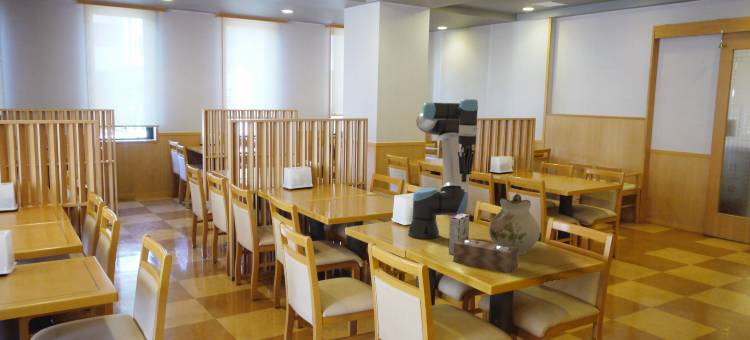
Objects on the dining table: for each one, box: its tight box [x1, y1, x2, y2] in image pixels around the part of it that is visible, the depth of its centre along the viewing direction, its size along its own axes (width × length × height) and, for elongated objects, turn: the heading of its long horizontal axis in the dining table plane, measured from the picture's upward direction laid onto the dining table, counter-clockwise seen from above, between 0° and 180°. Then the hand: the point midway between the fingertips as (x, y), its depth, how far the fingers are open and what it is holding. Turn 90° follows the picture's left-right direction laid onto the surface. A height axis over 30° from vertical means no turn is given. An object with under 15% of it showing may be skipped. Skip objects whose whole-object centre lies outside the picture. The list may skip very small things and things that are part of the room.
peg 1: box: [464, 238, 478, 245], centre depth 238 cm, size 5×5×8 cm
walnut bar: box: [452, 238, 519, 273], centre depth 234 cm, size 24×10×8 cm, turn 56°
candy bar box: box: [448, 213, 470, 256], centre depth 252 cm, size 11×5×16 cm, turn 148°
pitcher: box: [488, 193, 541, 256], centre depth 256 cm, size 22×24×25 cm
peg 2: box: [496, 245, 509, 251], centre depth 230 cm, size 5×5×8 cm
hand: (464, 189), depth 249 cm, fingers closed
